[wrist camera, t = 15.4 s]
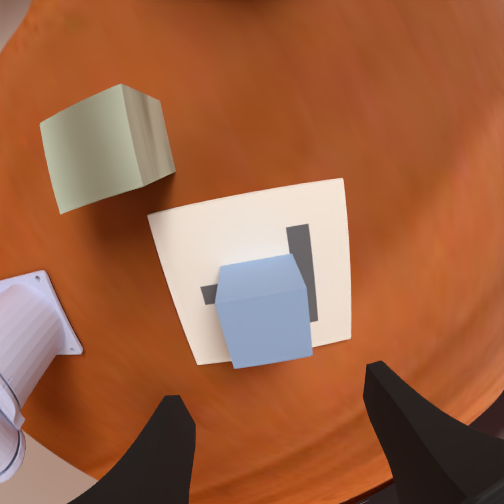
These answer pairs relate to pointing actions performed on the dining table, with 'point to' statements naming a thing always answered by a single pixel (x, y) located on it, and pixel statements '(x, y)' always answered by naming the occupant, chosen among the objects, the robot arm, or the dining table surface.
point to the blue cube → (264, 311)
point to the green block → (106, 146)
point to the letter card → (257, 256)
